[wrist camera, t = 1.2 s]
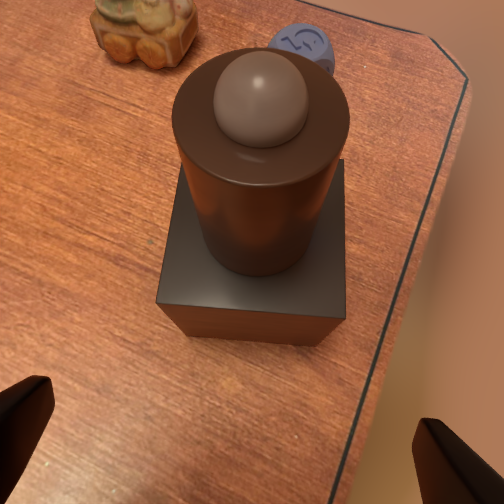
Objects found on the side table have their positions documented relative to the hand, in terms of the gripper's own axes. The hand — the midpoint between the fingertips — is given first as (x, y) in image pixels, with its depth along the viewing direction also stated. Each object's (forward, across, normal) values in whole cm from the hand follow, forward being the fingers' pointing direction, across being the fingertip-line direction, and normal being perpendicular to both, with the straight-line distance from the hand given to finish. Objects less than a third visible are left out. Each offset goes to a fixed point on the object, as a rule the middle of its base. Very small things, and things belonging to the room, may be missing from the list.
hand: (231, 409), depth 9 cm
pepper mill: (+9, 0, -2) cm, 10 cm away
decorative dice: (+27, -2, -8) cm, 28 cm away
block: (+15, 0, +4) cm, 16 cm away
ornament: (+30, +11, -10) cm, 33 cm away
